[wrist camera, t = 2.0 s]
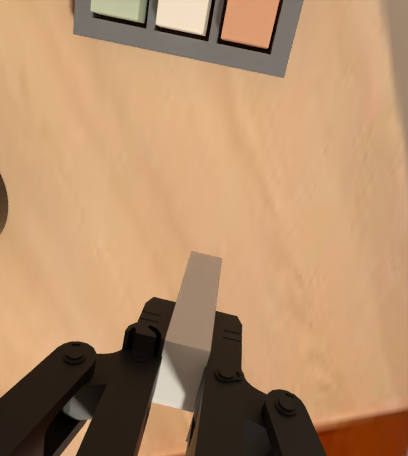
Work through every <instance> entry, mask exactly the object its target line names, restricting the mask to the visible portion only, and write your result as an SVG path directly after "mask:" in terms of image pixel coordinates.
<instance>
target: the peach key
mask: <svg viewBox="0 0 408 456" xmlns="http://www.w3.org/2000/svg"><path fill="white" fill-rule="evenodd" d="M278 5H279V0H228V2H227V7H226V13H225V18H224V23H223V29H222V34H221V39H222V40H225V41H230V42H235V43H240V44H244V45H249V46H254V47H259V48H264V49H267V48H268V47H269V43H270V39H271V35H272V30H273V26H274V22H275V17H276V13H277V9H278Z"/></svg>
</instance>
